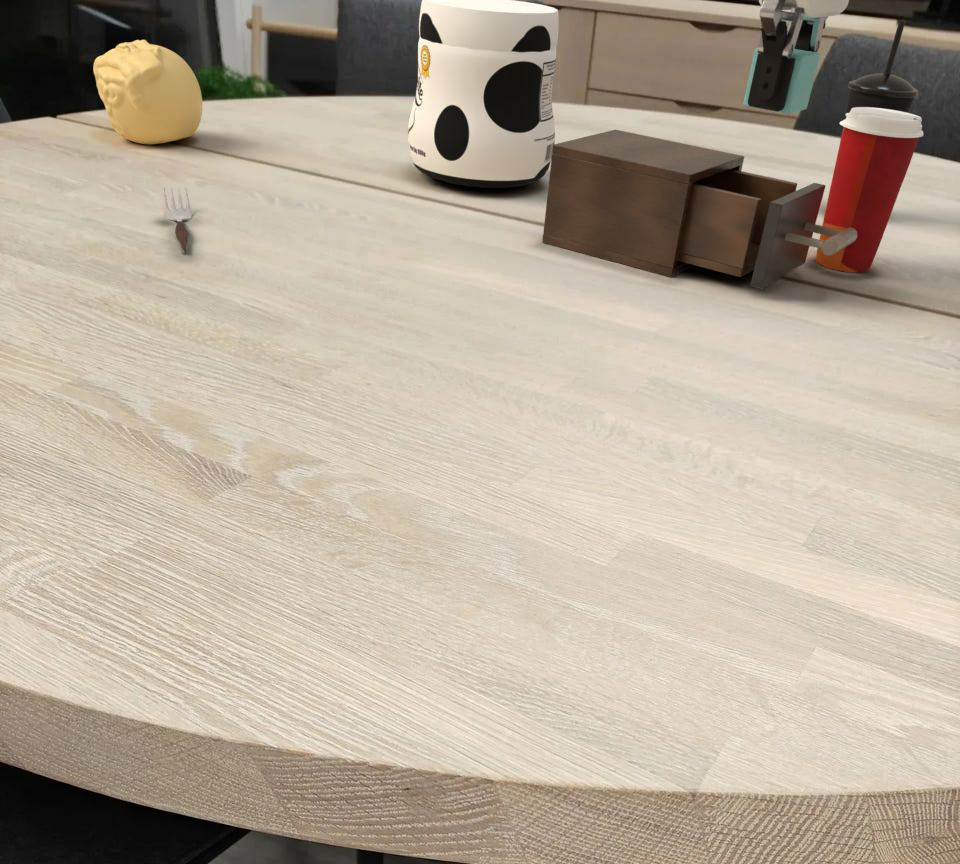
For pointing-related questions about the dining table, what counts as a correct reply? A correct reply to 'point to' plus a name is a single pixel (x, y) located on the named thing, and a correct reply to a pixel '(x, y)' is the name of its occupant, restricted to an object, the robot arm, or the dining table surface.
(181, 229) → the fork
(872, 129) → the paper cup
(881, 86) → the drinking cup
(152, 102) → the sculpture
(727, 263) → the drawer
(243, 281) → the dining table surface
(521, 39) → the milk container
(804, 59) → the teal cube
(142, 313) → the dining table surface
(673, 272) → the cabinet
